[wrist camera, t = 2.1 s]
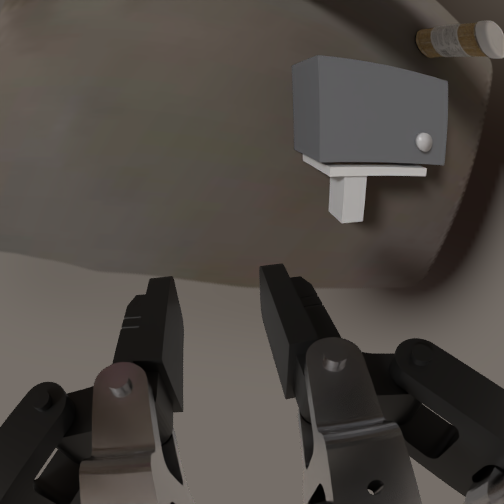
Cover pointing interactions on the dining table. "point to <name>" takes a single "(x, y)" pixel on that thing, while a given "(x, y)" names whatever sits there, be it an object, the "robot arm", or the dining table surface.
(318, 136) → the box
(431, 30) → the sprinkles bottle
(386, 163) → the side cover
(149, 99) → the dining table surface
